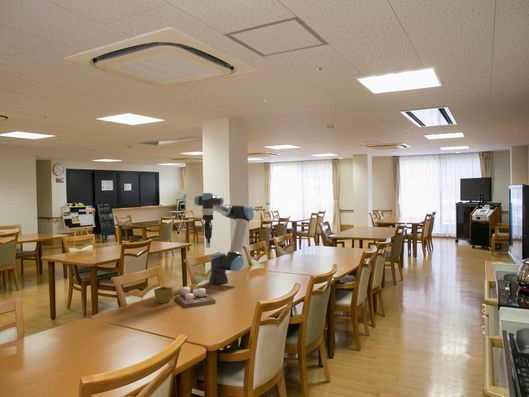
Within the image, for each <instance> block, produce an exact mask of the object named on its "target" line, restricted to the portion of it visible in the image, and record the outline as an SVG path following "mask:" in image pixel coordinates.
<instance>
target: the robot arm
mask: <svg viewBox="0 0 529 397" xmlns="http://www.w3.org/2000/svg"><path fill="white" fill-rule="evenodd" d="M193 201H194V205H195V206H199V207H202V210H201V212H202V220H203V221H204V223H203V229H204V230H203V232H204V237H205V248H206V249H209V248H211V239H212V233H213V224H212V221H213V220H214V212H216V213H218V214H221V216H223V217H226V218H228V219H231V220H235V223H236V224H235V226H234V227H235V228H234V231H233V236H232V240H231V244H230V245H231V246H230V248H229V251H228V252H227V254H226V252H221V253H214V254H211V256H210V276H209V278H208V284H210V285H225V284H228V283H229V279H228V275H227V272H226V271H229V272H239V271H240V270H241V269H242V268H243V266H244V258H243V254H242V248H243V244H244V241H245V240H244V239H245V234H246V229H247V226H248V225H249V223H250V221H252V220H253V219H254V216H255V214H254V210H253V208H252V206H251V205H229V204H224V202H225V201H224V197H223V196H221V195H214V193H213V192H204V193H202V195H196V196H195V197H194V199H193Z"/></svg>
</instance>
